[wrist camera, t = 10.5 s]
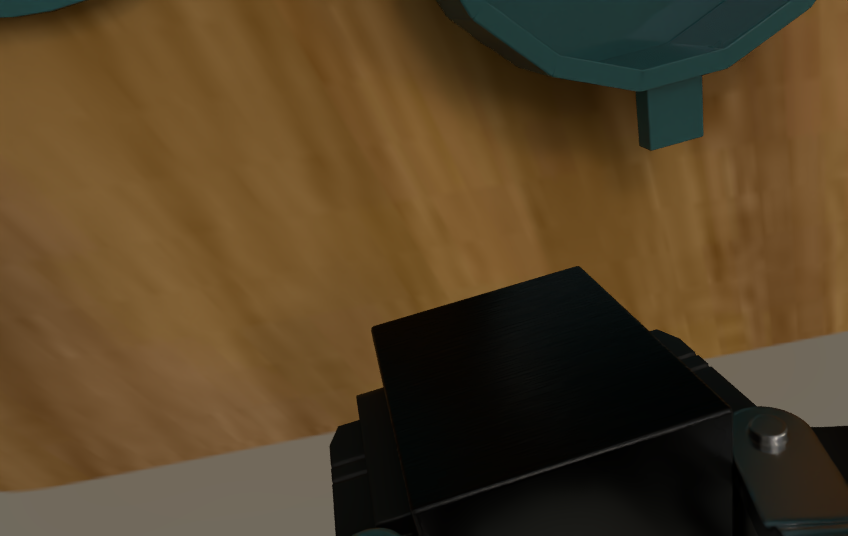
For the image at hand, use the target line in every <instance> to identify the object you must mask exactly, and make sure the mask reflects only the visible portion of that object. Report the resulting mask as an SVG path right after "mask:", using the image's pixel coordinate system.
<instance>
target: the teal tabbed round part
mask: <svg viewBox="0 0 848 536" xmlns="http://www.w3.org/2000/svg"><path fill="white" fill-rule="evenodd" d="M436 1H437V3H438V4H439V6H440V7H441V9H442V11H443V12H444V14H445V15H446V16H447V17H448V18H449V19H450V20H451V21H452V22H454V23H455V24H457V25H458V26H459V27H461V28H462V29H464V30H465V31H467V32H468V33H469V34H470V35H472V36H473V37H474V38H475V39H476V40H478V41H479V42H480V43H482V44H483V45H485V46H487V47H488V48H490V49H492V50H493V51H495V52H496V53H498V54H499V55H501V56H502V57H504V58H505V59H506V60H508V61H509V62H511V63H512V64H513V65H515V66H517V67H518V68H522V69H525V70H529V71H532V72H536V73H540V74H543V75H547V76H550V77H555V78H560V79H566V80H572V81H578V82H584V83H590V84H596V85H601V86H607V87H613V88H619V89H625V90H631V91H636V106H637V120H638V135H639V146H641V147H643V148H645V149H648V150H650V151H652V150H656V149H659V148H663V147H666V146H670V145H674V144H677V143H681V142H684V141H688V140H692V139H695V138H699V137H702V136H703V92H702V75H705V74H709V73H712V72H716V71H720V70H724V69H727V68H728V67H730V66H732V65H733V64H734V63H736V62H737V61H738V60H740V59H741V58H743V57H744V56H745V55H747V54H748V53H749V52H751V51H752V50H753V49H755V48H756V47H758V46H759V45H760V44H762V43H763V42H764V41H766V40H767V39H769V38H770V37H771V36H773V35H774V34H775V33H777V32H778V31H779V30H781V29H782V28H784V27H785V26H786V25H788V24H789V23H790V22H792V21H793V20H795V19H796V18H797V17H799V16H800V15H801V14H803V13H804V12H805V11H807V10H808V9H809V8H811V7H812V5H813V4H814V3H815V1H816V0H436Z"/></svg>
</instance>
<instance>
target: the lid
mask: <svg viewBox="0 0 848 536" xmlns="http://www.w3.org/2000/svg"><path fill="white" fill-rule="evenodd" d="M85 1H88V0H0V18H8V17H22V16H28V15H34V14H40V13H46V12H52V11H57V10H60V9H63V8H66V7H69V6H73V5H76V4H79V3H82V2H85Z"/></svg>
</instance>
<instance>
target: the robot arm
mask: <svg viewBox="0 0 848 536" xmlns="http://www.w3.org/2000/svg"><path fill="white" fill-rule="evenodd" d="M650 332H651V333H652V334H653V335H654V336H655V337H656V338H657V339H658V340H659V341H660V342H661V343H662V344H664V345H665V346H666V347H667V348H668V349H669V350H670V351H671V352H672V353H673V354H674V355H675V356H676V357H677V358H679V359H680V360H681V361H682V362H683V363H684V364H685V365H686V366H687V367H688V368H689V369H690V370H691V371H693V372H694V373H695V374H696V375H697V376H698V377H699V378H700V379H701V380H702V381H703V382H704V383H705V384H707V385H708V386H709V387H710V388H711V389H712V390H713V391H714V392H715V393H716V394H717V395H718V396H719V397H721V398H722V399H723V400H724V401H725V402H726V403H727V404H728V405H729V406H730V407H731V409H732V411H733V491H734V536H848V426H835V427H810V426H809V425H808V424H807V423H806V422H805V421H804V420H802V419H801V418H799V417H797V416H796V415H794V414H792V413H789V412H787V411H784V410H781V409H777V408H772V407H762V406H758V407H757V406H756V405H755V404H754V403H752V402H751V401H750V400H749V399H748V398H747V397H746V396H744V395H743V394H742V393H741V392H740V391H739V390H738V389H736V388H735V387H734V386H733V385H732V384H731V383H730V382H728V381H727V380H726V379H725V378H724V377H723V376H721V375H720V374H719V373H718V372H717V371H716V370H715V369H714V368H712V367H709V366H708V363H707V362H706V361H704V360H703V359H702V358H701V357H700V356H699V355H697V356H696V354H695V352H694V351H693V350H692V349H691V348H690V347H688V346H687V345H686V344H685V343H684V342H683V341H682V340H680V339H679V338H677V337H674V336H672V335H669V334H667V333H665V332H662V331H660V330H657V329H656V330H653V331H650ZM356 398H357V405H358V412H359V419H360V420H358V421H354V422H351V423H348V424H344V425H341V426H338V428H337V430H336V433H335V435H334V437H333V440H332V442H331V444H330V459H331V467H332V469H331V473H332V482H333V485H332V487H333V502H334V515H335V516H334V517H335V531H336V536H418V533H417V530H416V527H415V523H414V520H413V517H412V514H411V510H410V506H409V501H408V497H407V492H406V488H405V483H404V479H403V474H402V469H401V465H400V460H399V456H398V451H397V447H396V442H395V437H394V433H393V428H392V424H391V419H390V415H389V410H388V405H387V401H386V396H385V392H384V387H383V388H380V389H377V390H373V391H370V392H367V393H363V394H360V395H357V396H356Z"/></svg>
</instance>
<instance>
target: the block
mask: <svg viewBox="0 0 848 536" xmlns="http://www.w3.org/2000/svg"><path fill="white" fill-rule="evenodd" d="M371 332H372V337H373V342H374V346H375V351H376V355H377V360H378V364H379V369H380V374H381V378H382V383H383V387H384V392H385V396H386V401H387V405H388V410H389V415H390V419H391V424H392V428H393V433H394V437H395V442H396V447H397V451H398V456H399V460H400V465H401V469H402V474H403V479H404V483H405V488H406V492H407V497H408V501H409V506H410V510H411V514H412V517H413V520H414V523H415V527H416V530H417V533H418V536H734V491H733V411H732V409H731V407H730V406H729V405H728V404H727V403H726V402H725V401H724V400H723V399H722V398H721V397H719V396H718V395H717V394H716V393H715V392H714V391H713V390H712V389H711V388H710V387H709V386H708V385H707V384H705V383H704V382H703V381H702V380H701V379H700V378H699V377H698V376H697V375H696V374H695V373H694V372H693V371H691V370H690V369H689V368H688V367H687V366H686V365H685V364H684V363H683V362H682V361H681V360H680V359H679V358H677V357H676V356H675V355H674V354H673V353H672V352H671V351H670V350H669V349H668V348H667V347H666V346H665V345H664V344H662V343H661V342H660V341H659V340H658V339H657V338H656V337H655V336H654V335H653V334H652V333H651V332H650V331H648V330H647V329H646V328H645V327H644V326H643V325H642V324H641V323H640V322H639V321H638V320H637V319H636V318H634V317H633V316H632V315H631V314H630V313H629V312H628V311H627V310H626V309H625V308H624V307H623V306H622V305H620V304H619V303H618V302H617V301H616V300H615V299H614V298H613V297H612V296H611V295H610V294H609V293H608V292H607V291H605V290H604V289H603V288H602V287H601V286H600V285H599V284H598V283H597V282H596V281H595V280H594V279H593V278H591V277H590V276H589V275H588V274H587V273H586V272H585V271H584V270H583V269H582V268H581V267H579V266H576V267H572V268H569V269H565V270H562V271H559V272H555V273H552V274H548V275H545V276H542V277H538V278H535V279H532V280H528V281H525V282H521V283H518V284H515V285H511V286H508V287H504V288H501V289H498V290H494V291H491V292H488V293H484V294H481V295H477V296H474V297H471V298H467V299H464V300H461V301H457V302H454V303H450V304H447V305H444V306H440V307H437V308H433V309H430V310H427V311H423V312H420V313H417V314H413V315H410V316H406V317H403V318H400V319H396V320H393V321H389V322H386V323H383V324H379V325H376V326H373V327H372V328H371Z"/></svg>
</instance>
